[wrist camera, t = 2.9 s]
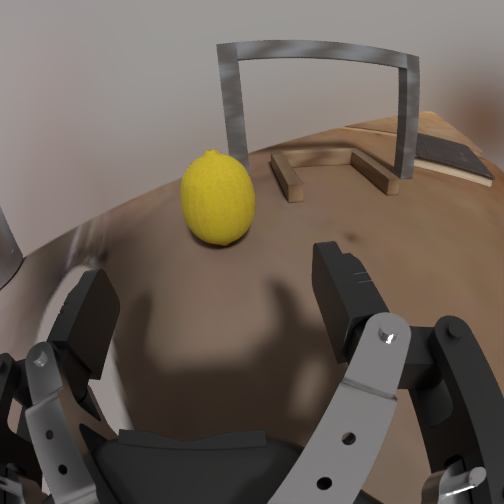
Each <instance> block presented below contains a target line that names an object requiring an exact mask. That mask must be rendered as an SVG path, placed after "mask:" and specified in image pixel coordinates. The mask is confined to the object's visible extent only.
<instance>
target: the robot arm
mask: <svg viewBox="0 0 504 504" xmlns="http://www.w3.org/2000/svg"><path fill="white" fill-rule="evenodd" d="M22 259H23V255H22V253H21V251H20V249H19V247H18V245H17V243H16V241H15V239H14V237H13V234H12V233H11V230H10V228H9V225H8V224H7V221H6V219H5V216H4V214H3V211H2V209H1V207H0V288H1V287H2V286H4V285H5V284H6V283H7V282H8V281H9V279H10V278H11V277H12V276H13V275H14V274H15V272H16V271H17V269H18V268H19V266H20V264H21V262H22ZM312 286H313V291H314V294H315V297H316V300H317V303H318V306H319V309H320V312H321V314H322V317H323V320H324V323H325V326H326V329H327V332H328V335H329V338H330V341H331V344H332V347H333V351H334V354H335V357H336V360H337V363H338V364H340V363H344V362H348V365H349V367H348V369H347V371H346V374H345V376H344V378H343V380H342V381H341V382H340V384H339V386H338V388H337V390H336V392H335V394H334V396H333V398H332V400H331V402H330V404H329V406H328V408H327V410H326V412H325V414H324V416H323V417H322V419H321V421H320V423H319V425H318V426H317V428H316V430H315V432H314V433H313V435H312V437H311V439H310V440H309V442H308V444H307V445H306V447H305V448H304V447H302V446H300V445H298V444H295V443H293V442H290V441H287V440H284V439H280V438H275V437H266V433H265V429H263V430H254V431H242V432H228V433H223V434H219V435H215V436H212V437H208V438H204V439H200V440H196V441H192V442H182V441H178V440H175V439H171V438H168V437H165V436H161V435H158V434H155V433H152V432H144V431H133V430H124V429H119V436H118V435H117V434H116V433H115V432H114V431H113V430H112V429H111V428H110V426H109V425H108V423H107V421H106V419H105V417H104V415H103V413H102V411H101V409H100V407H99V405H98V403H97V400H96V398H95V396H94V394H93V391H92V389H91V388H90V386H89V385H88V381H89V379H96V380H100V379H101V375H102V371H103V367H104V363H105V359H106V355H107V352H108V348H109V345H110V341H111V338H112V335H113V331H114V328H115V325H116V322H117V318H118V315H119V312H120V303H119V299H118V296H117V295H116V293H115V291H114V289H113V287H112V285H111V283H110V281H109V279H108V277H107V275H106V273H105V271H104V270H102V269H99V270H91V271H85V272H84V273H83V275H82V277H81V279H80V281H79V283H78V284H77V285H76V286H75V287H74V288H73V289H72V291H71V292H70V293H69V294H68V296H67V298H66V300H65V302H64V305H63V306H62V308H61V310H60V313H59V314H58V316H57V318H56V321H55V323H54V325H53V327H52V330H51V332H50V334H49V336H48V339H47V341H46V342H40V343H38V344H36V345H35V346H33V347H32V348H31V349H30V351H29V352H28V354H27V357H26V359H23V360H19V361H15V360H14V359H13V358H12V357H11V356H10V355H9V354H8V353H2V354H0V504H383V503H382V502H380V501H379V500H377V499H375V498H374V497H372V496H371V495H369V494H368V493H366V492H365V491H363V490H362V489H361V487H362V486H363V484H364V482H365V480H366V478H367V476H368V474H369V472H370V470H371V468H372V465H373V463H374V461H375V459H376V457H377V454H378V452H379V450H380V448H381V445H382V443H383V440H384V438H385V435H386V433H387V430H388V428H389V425H390V422H391V420H392V417H393V414H394V411H395V408H396V404H397V398H396V397H395V394H396V390H397V389H408V391H409V394H410V397H411V400H412V403H413V406H414V409H415V412H416V416H417V419H418V422H419V426H420V429H421V433H422V436H423V440H424V444H425V448H426V452H427V456H428V460H429V464H430V469H431V473H432V474H431V475H430V476H429V478H428V479H427V480H426V482H425V483H424V486H423V488H422V493H421V495H422V500H421V504H504V398H503V395H502V393H501V390H500V388H499V386H498V383H497V381H496V379H495V377H494V374H493V372H492V370H491V368H490V366H489V364H488V362H487V360H486V358H485V356H484V354H483V352H482V350H481V348H480V346H479V344H478V342H477V340H476V339H475V337H474V335H473V333H472V331H471V329H470V328H469V326H468V325H467V324H466V323H465V322H464V321H463V320H462V319H460V318H458V317H455V316H444V317H442V318H440V319H439V320H438V321H437V323H436V324H435V326H434V327H414V326H409V325H408V324H407V322H406V321H405V320H404V319H403V318H401V317H400V316H398V315H396V314H393V313H390V312H389V310H388V308H387V306H386V304H385V303H384V301H383V299H382V297H381V295H380V294H379V292H378V290H377V288H376V287H375V285H374V283H373V281H371V278H370V276H369V275H368V273H366V270H365V268H364V266H363V265H362V263H361V261H360V260H358V259H357V258H356V257H355V256H353V255H352V254H351V253H346V254H342V252H341V250H340V249H339V247H338V245H337V243H336V242H335V241H330V242H322V243H315V244H314V246H313V261H312ZM12 398H14V399H15V400H16V401H17V402H19V403H20V404H21V405H22V410H21V415H20V419H19V424H18V429H17V433H16V434H15V433H14V432H12V431H11V430H10V429H9V427H8V423H7V419H8V414H9V410H10V406H11V402H12ZM42 474H43V475H44V477H45V480H46V482H47V485H48V487H49V489H50V492H51V494H50V495H49V496H48V495H47V494H46V493H44V492H42Z"/></svg>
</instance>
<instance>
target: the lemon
mask: <svg viewBox="0 0 504 504" xmlns="http://www.w3.org/2000/svg"><path fill="white" fill-rule="evenodd" d="M181 206H182V212H183V215H184V218H185V221H186V223H187V225H188V226H189V228H190V229H191V230H192V232H193V233H194V234H195V235H196V236H197V237H198V238H200V239H202V240H203V241H205V242H208V243H211V244H218V245H222V246H227V245H228V244H229V243H231V242H233V241H235V240H237V239H239V238H240V237H241V236H243V235H244V234H245V233H246V231H247V230H248V228H249V227H250V225H251V223H252V221H253V217H254V212H255V193H254V189H253V185H252V182H251V180H250V177H249V175H248V173H247V171H246V169H245V167H244V166H243V165H242V164H241V163H240V162H239V161H237V160H236V159H234V158H233V157H231V156H229V155H226V154H221V153H218V152H217V151H216V150H207V151H206V152H205V153H204V155H203V156H201V157H200V158H198V159H197V160H195V161H194V162H193V163H192V164H191V165H190V166H189V167H188V169H187V171H186V172H185V174H184V176H183V179H182V183H181Z"/></svg>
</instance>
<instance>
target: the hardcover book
mask: <svg viewBox="0 0 504 504" xmlns="http://www.w3.org/2000/svg"><path fill="white" fill-rule="evenodd" d="M414 166H417V167H422V168H426V169H430V170H434V171H438V172H442V173H446V174H450V175H453V176H457V177H460V178H464V179H467V180H470V181H474V182H477V183H480V184H483V185H486V186H489V187H491V185H492V180H495V177H494V176H493V175H492V174H491V172H490V171H489V170H488V169H487V168H486V166H485V165H484V164H483V163H482V162H481V161H480V159H479V158H478V157H477V156H476V155H475V154H474V153H473V152H472V151H471V149H470V148H469V147H468V146H466V145H463V144H459V143H456V142H452V141H448V140H445V139H441V138H437V137H433V136H428V135H424V134H420V133H417V142H416V152H415V160H414Z"/></svg>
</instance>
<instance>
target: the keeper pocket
mask: <svg viewBox="0 0 504 504" xmlns="http://www.w3.org/2000/svg"><path fill="white" fill-rule="evenodd" d="M217 54H218V63H219V72H220V81H221V90H222V98H223V107H224V115H225V123H226V131H227V140H228V148H229V156H231V157H233V158H234V159H236V160H237V161H239V162H240V163H241V164H242V165H243V166H244V167H245V169H246V171H247V173H248V175H249V177H250V173H249V163H248V153H247V143H246V133H245V123H244V114H243V103H242V93H241V84H240V74H239V65H238V61H239V60H252V59H269V58H318V59H336V60H348V61H358V62H365V63H373V64H379V65H386V66H392V67H397V68H399V105H398V128H397V142H396V154H395V164H394V174H395V175H394V174H393V173H391V172H390V171H389V170H387V169H386V168H385V167H383V166H382V165H380V164H379V163H378V162H376V161H375V160H373V159H372V158H370V157H369V156H367V155H366V154H365V153H363V152H362V151H360V150H359V149H357V148H343V149H312V150H294V151H280V152H271V166H272V168H273V170H274V172H275V174H276V176H277V178H278V180H279V182H280V185H281V187H282V189H283V191H284V193H285V195H286V197H287V200H288V202H289V203H291V202H301V201H303V183H302V181H301V180H300V178H299V177H298V175H297V174H296V172H295V171H294V169H293V168H292V167H304V166H320V165H342V164H352V165H353V166H354V167H355V168H356V169H358V170H359V171H360V172H361V173H362V174H364V175H365V176H366V177H367V178H368V179H369V180H370V181H372V182H373V183H374V184H375V185H376V186H377V187H378V188H380V189H381V190H382V191H383V192H384V193H385V194H386V195H397V194H398V188H399V181H400V179H399V178H401V179H406V178H412V175H413V168H414V160H415V152H416V142H417V131H418V116H419V87H420V84H419V83H420V81H419V79H420V75H419V57H418V56H413V55H409V54H406V53H401V52H397V51H392V50H387V49H382V48H375V47H370V46H363V45H356V44H348V43H339V42H327V41H310V40H264V41H247V42H235V43H225V44H218V45H217ZM396 175H397V176H398V177H399V178H398V177H397V176H396Z"/></svg>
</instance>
